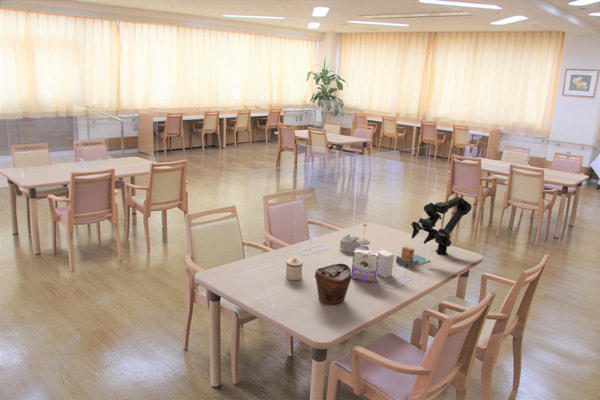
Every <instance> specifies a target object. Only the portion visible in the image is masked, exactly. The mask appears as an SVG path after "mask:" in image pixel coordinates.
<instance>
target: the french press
mask: <svg viewBox="0 0 600 400" xmlns="http://www.w3.org/2000/svg"><path fill="white" fill-rule="evenodd" d="M367 226H368V225H367V223H363V227H367ZM363 231H364V232H363V234H365V232H366V228H364V229H363ZM357 243H358V244H361V246H358V247H357V248H358V249H363V250H369V247H368V246H369V245H370V244H371V241H370V240H369V239H368V238H367V239H366V238H360V239H358V240H357ZM369 251H370V250H369Z"/></svg>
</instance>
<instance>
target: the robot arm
mask: <svg viewBox="0 0 600 400" xmlns="http://www.w3.org/2000/svg"><path fill="white" fill-rule="evenodd" d="M454 207H455V212H454V214H453V215H452V217H451V218H450V219H449V221H448V222H447V224H445V227H444V228H439V229H438V230H437V229H435V228H436V224H437V222H438V221H439V220H442V215H445V214H446V213H448V211H449V210H450V209H452V208H454ZM472 208H473V206H472V204H471V203H469V201H466V199H464V198H462V197H461V196H456V197H454V198H452V199H449V200H447V201H445V202H444V201H440V202H439V201H438V202H436V203H433V202H430V203H428V204H425V205H424V207H423V211H424V212H425V213H426V215H427V216H428V217H427V218H421V217H419V220H418V222H417V221H412V222H411V224H410V225H411V226H412V228H413V230H412V234H411V239H414V238H415V237H416V236H417V235H418V234H419V233H420V230H421V231H424V232H427V233H428V235H427V236H426V238H425V239H424V241H423V244H424V245H425V244H427V243H428V242H430V241H433V240H435V243H437V249H435V253H437V255H444V256H445V255H449V254H448V252H447V251H448V247H450V246H451V244H452V241H451V240H450V239H451V233H452V232H453V231H454V229H455V227H456V226H457V225H458V223H459V222H460V220H461V219H462V218H463V216H465V215H467V214H469V213H470V211H471V210H472Z"/></svg>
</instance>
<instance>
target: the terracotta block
mask: <svg viewBox="0 0 600 400" xmlns="http://www.w3.org/2000/svg"><path fill="white" fill-rule="evenodd" d="M414 255H415V248H414V247H412V246H409V245H407V246H404V247H402V250H401V256H400V257H401V258H403V259H405V260H407V261H409V262H412V261H413V256H414Z"/></svg>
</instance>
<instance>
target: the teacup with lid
mask: <svg viewBox="0 0 600 400" xmlns="http://www.w3.org/2000/svg"><path fill="white" fill-rule="evenodd" d="M285 263H286V265H285V266H286V269H285V270H286V271H285V277H286V279H287V280H290V281H298V280H301V279H302V274H303V261H302V260H301V259H298V258H297V257H296V256H293V257H292V258H290V259H287V260H286V262H285Z"/></svg>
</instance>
